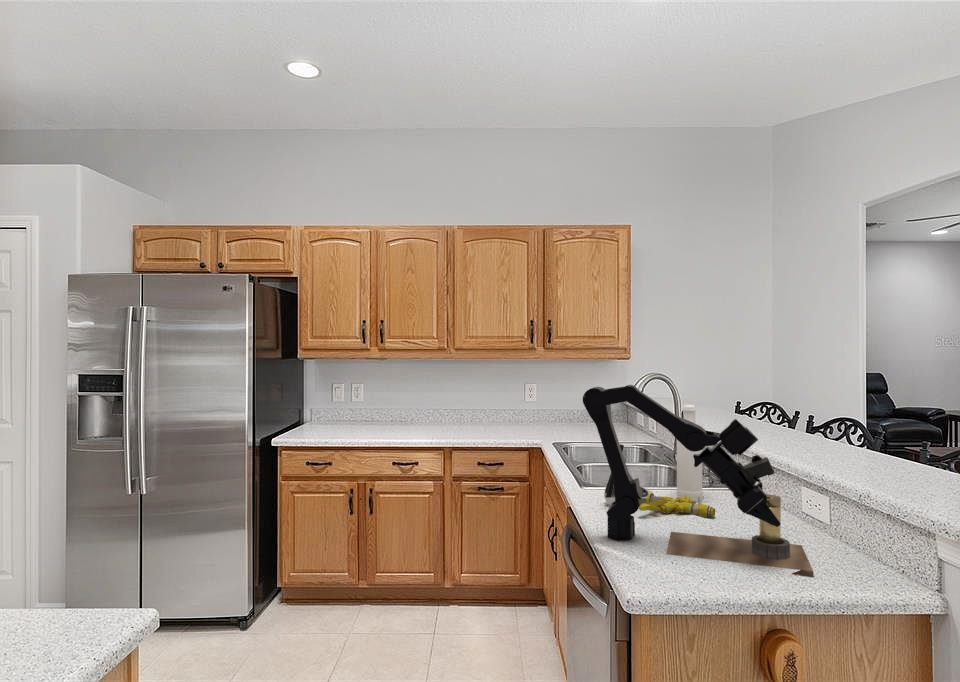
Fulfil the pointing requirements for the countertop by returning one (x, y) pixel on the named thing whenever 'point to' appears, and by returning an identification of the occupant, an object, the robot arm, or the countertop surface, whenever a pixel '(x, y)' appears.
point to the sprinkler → (677, 505)
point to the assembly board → (741, 551)
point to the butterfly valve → (610, 489)
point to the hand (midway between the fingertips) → (777, 519)
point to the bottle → (688, 466)
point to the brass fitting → (769, 531)
